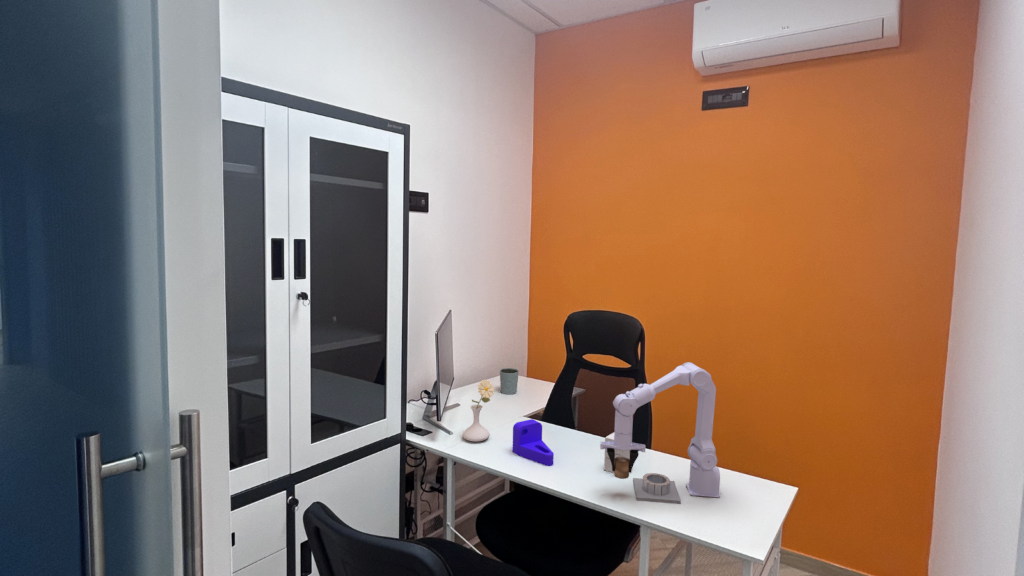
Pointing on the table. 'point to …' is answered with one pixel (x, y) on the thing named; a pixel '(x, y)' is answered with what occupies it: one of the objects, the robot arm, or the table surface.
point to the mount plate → (645, 496)
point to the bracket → (531, 442)
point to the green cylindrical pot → (508, 381)
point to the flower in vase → (476, 430)
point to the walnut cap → (621, 467)
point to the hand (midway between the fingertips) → (621, 470)
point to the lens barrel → (656, 484)
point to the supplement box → (617, 454)
